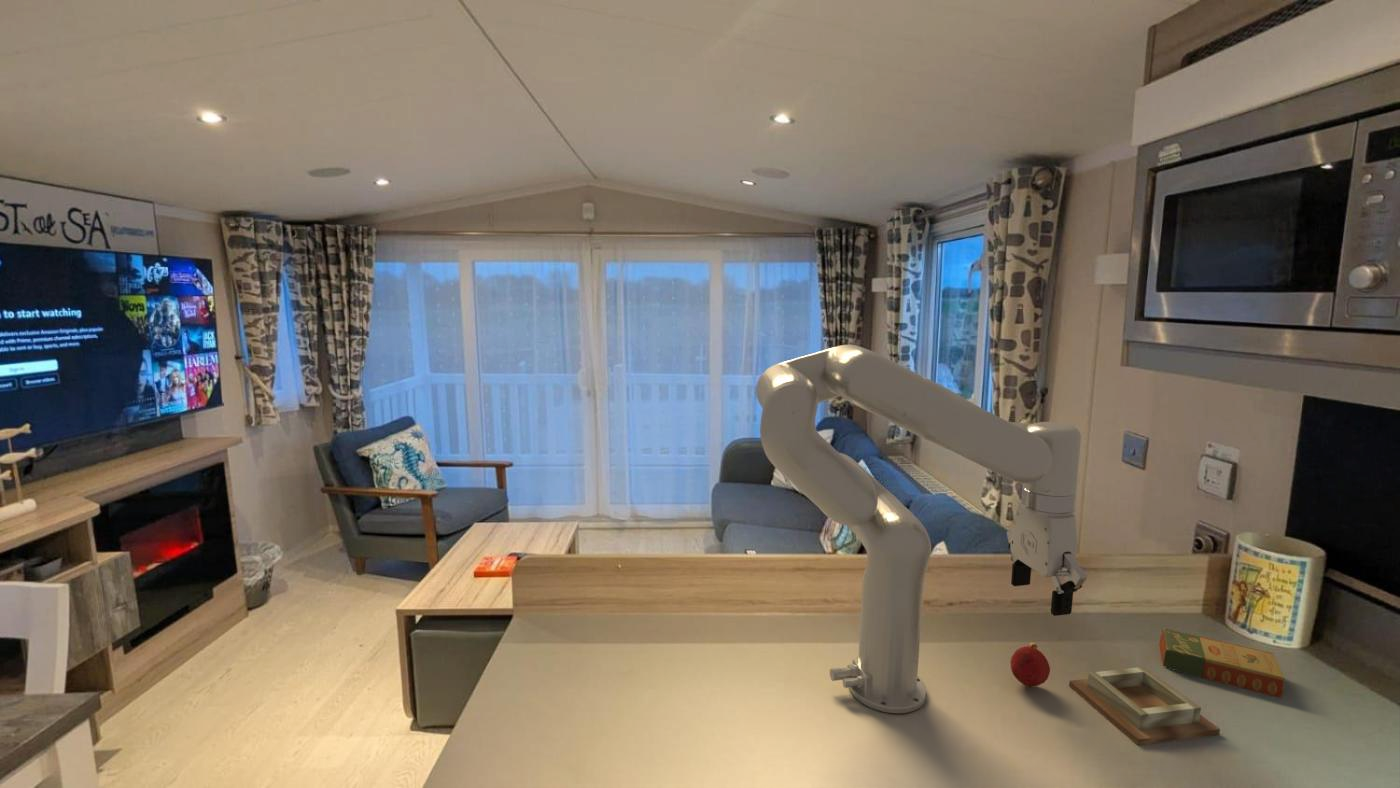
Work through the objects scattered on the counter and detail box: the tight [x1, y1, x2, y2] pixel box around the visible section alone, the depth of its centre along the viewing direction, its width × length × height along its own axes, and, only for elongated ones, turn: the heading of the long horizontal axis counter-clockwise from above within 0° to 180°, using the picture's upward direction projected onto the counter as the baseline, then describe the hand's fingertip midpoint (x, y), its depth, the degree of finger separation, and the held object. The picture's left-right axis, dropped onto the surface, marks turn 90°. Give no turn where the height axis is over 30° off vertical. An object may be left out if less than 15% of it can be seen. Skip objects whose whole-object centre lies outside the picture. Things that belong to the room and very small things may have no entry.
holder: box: [1068, 666, 1221, 746], centre depth 101 cm, size 14×14×4 cm
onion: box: [1010, 642, 1051, 688], centre depth 106 cm, size 6×6×8 cm
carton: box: [1158, 627, 1285, 699], centre depth 111 cm, size 8×16×4 cm, turn 58°
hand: (1039, 598), depth 104 cm, fingers open, 9 cm apart
